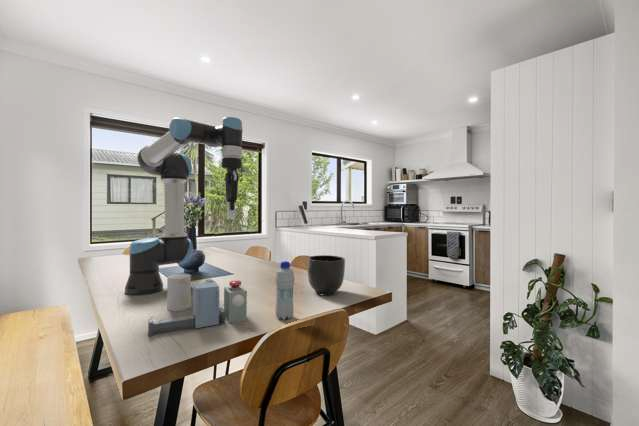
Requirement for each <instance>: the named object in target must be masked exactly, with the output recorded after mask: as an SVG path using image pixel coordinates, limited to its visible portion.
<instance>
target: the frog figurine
mask: <svg viewBox="0 0 639 426" xmlns="http://www.w3.org/2000/svg"><path fill="white" fill-rule="evenodd" d="M211 282H216V281H215V280H213V279H212V278H206V279H204V280H203V281H202V282H200V283H199V284H201V283H211Z"/></svg>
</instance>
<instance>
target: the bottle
mask: <svg viewBox="0 0 639 426" xmlns="http://www.w3.org/2000/svg"><path fill="white" fill-rule="evenodd" d="M279 266H280V268H279V269H277V270H276V276H275V285H276V293H275V294H276V297H275V299H276V302H275V316H276V318H277V319H278V320H283V321H284V320H285V321H286V318H287V320H290V319H291V318H292V317H293V316H294V285H295V273H294V272H295V271H294V270H293V269H291V262H289V261H287V260H286V261H285V260H283V261H281V262H280V265H279Z"/></svg>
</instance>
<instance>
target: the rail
mask: <svg viewBox="0 0 639 426" xmlns="http://www.w3.org/2000/svg"><path fill="white" fill-rule="evenodd" d="M147 321H148V322H147V323H148V325H147V326H148V327H147V329H148V333H147V335H148V337H151V336H154V335H156V334H157V335H158V334H163V333H164V334H165V333H169V332H176V331H181V330H187V329H194V328H195V315H193V314H192V315H186V316H178V317H172V318H165V319H158V320H154V317H153V316H150V317H148V320H147ZM219 324H221V325H224V324H225V325H226V317H225V310H224V307H223V306H221V307H219Z"/></svg>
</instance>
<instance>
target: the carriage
mask: <svg viewBox="0 0 639 426" xmlns="http://www.w3.org/2000/svg"><path fill="white" fill-rule="evenodd" d="M200 283H201V282H200ZM200 283H193V286H192V305H193V307H192V308H193V314H192V315H195V327H194V328H195V329H198V328H205V327H212V326H217V325H219V324H220V323H219V308H220V286H219V284H217V282H216V281H215V282H211V283H201V284H200Z"/></svg>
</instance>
